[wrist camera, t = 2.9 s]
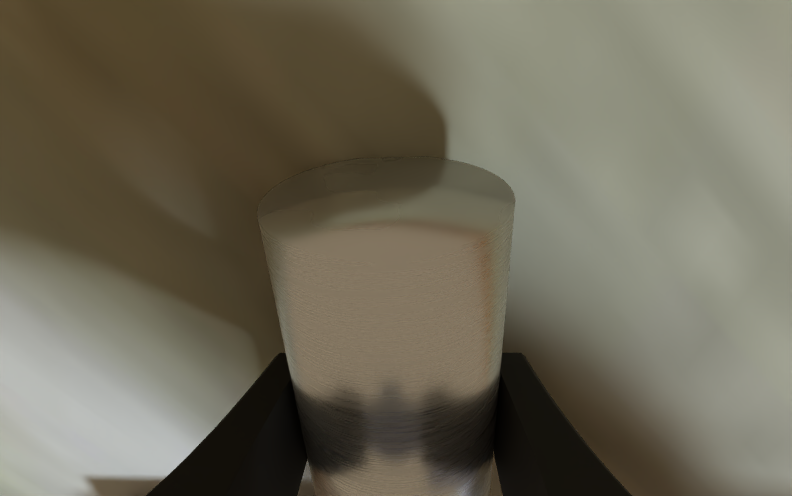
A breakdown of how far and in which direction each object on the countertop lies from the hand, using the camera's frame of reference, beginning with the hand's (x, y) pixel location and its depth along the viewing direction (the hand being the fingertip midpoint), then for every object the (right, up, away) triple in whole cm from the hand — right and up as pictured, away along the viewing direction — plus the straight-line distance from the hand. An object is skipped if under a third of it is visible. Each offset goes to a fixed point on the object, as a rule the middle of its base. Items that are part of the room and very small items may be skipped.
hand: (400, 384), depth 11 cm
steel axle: (0, 0, -1) cm, 1 cm away
